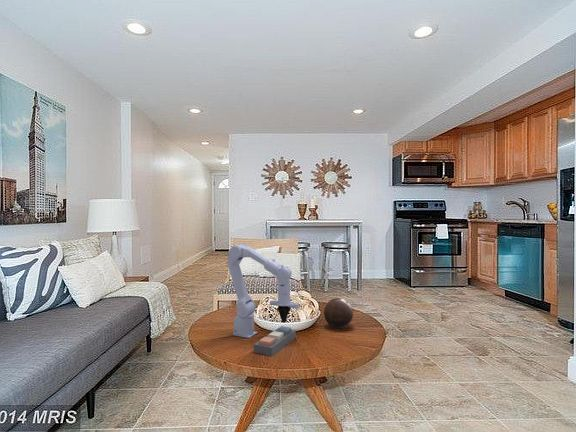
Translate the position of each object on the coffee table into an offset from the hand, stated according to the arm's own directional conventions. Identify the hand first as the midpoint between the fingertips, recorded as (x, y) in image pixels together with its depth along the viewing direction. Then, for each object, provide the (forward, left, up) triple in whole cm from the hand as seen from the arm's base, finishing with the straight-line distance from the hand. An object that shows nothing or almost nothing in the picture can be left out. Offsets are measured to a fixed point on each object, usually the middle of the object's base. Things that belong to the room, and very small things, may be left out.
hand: (284, 321), depth 163 cm
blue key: (0, 0, -5) cm, 5 cm away
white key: (0, -8, -6) cm, 10 cm away
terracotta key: (0, -16, -5) cm, 17 cm away
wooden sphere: (+18, +27, -8) cm, 33 cm away
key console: (0, -8, -8) cm, 11 cm away
